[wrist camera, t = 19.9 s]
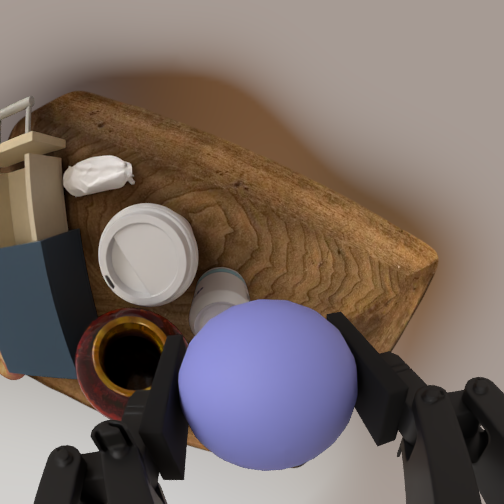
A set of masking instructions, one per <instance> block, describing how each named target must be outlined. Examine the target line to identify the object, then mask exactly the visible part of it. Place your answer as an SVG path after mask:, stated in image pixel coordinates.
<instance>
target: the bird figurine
mask: <svg viewBox="0 0 504 504" xmlns="http://www.w3.org/2000/svg"><path fill="white" fill-rule="evenodd" d="M132 176H133V177H134V175H132V166H131V164H130V162H125V161H123V160H121V159H120V158H118V157H115V156H111V155H108V156H98V157H92V158H88V159H85V160H83V161H81V162H78V163H77V164H76V165H74V166H73V167H71V166H69V168H68V169H67V170H66V171H65V173H64V175H63V186H64V187H65V188H66V190H67V191H68V192H69V193H70V194H71V195H73V196H75V197H77V196H78V197H80V196H84V195H90V194H94V193H97V192H102V191H107V190H112V189H118V188H121V187H123V186H124V184H125V183H126V182H127V181H128V182H129V183H130V184H131V185H132V183H133V184H135V180H133V179H132Z"/></svg>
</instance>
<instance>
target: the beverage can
mask: <svg viewBox="0 0 504 504" xmlns="http://www.w3.org/2000/svg"><path fill="white" fill-rule="evenodd" d="M247 302H250V297H249V293H248V289H247V286H246V283H245V281H244V279H243V278H242V276H241V275H240V274H239V273H237V272H236V271H234V270H232V269H230V268H225V267H217V268H213V269H210V270H208V271H207V272H205V273H204V274H203V275H202V276H201V277H200V279H199V280H198V282H197V285H196V289H195V293H194V297H193V301H192V305H191V309H190V314H189V324H190V328H191V331H192V333H193V334H194V336H196V335H197V333H198V332H199V331H200V330H201V329H202V328H203V327H204V325H205V324H206V323H207V322H208V321H209V320H210V319H212V318H213V317H215V316H217V315H218V314H220V313H222V312H223V311H225V310H227V309H228V308H230V307H232V306H235V305H239V304H243V303H247Z"/></svg>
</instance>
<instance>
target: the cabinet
mask: <svg viewBox="0 0 504 504" xmlns="http://www.w3.org/2000/svg"><path fill="white" fill-rule="evenodd" d="M97 318H98V317H97V313H96V309H95V305H94V301H93V297H92V292H91V288H90V284H89V279H88V274H87V269H86V264H85V259H84V253H83V248H82V242H81V236H80V229H73V230H68V231H67V232H64V233H61V234H58V235H55V236H52V237H49V238H46V239H43V240H40V241H35V242H29V243H24V244H18V245H13V246H8V247H2V248H0V352H1V355H2V357H3V360H4V362H5V364H6V367H7V369H8V371H9V373H16V374H24V375H32V376H42V377H53V378H67V379H77V375H76V367H75V358H76V351H77V347H78V344H79V341H80V339H81V337H82V335H83V333H84V332H85V330H86V329H87V328H88V326H89V325H90V324H91V323H92V322H93V321H95V320H96V319H97Z"/></svg>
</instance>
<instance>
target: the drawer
mask: <svg viewBox="0 0 504 504" xmlns="http://www.w3.org/2000/svg"><path fill="white" fill-rule="evenodd" d="M34 102H35V101H34V98H33V97H32V96H30V97H27V98H25V99H23V100H21V101H18V102H16V103H14V104H12V105H10V106H8V107H6V108H4V109H1V110H0V142H1V120H2V119H4V118H7V117H9V116H11V115H13V114H15V113H17V112H20V111H22V110H25V109H26V125H25V134H23V135H20V136H18V137H15V138H13V139H10V140H8V141H6V142H3V143H0V167H8V166H11V165H13V164H16V163H19V162H22V161H25V168H22V169H19V170H16V171H13V172H11V173H0V248H2V247H8V246H13V245H18V244H24V243H29V242H35V241H40V240H43V239H46V238H49V237H52V236H55V235H58V234H61V233H64V232H67V231H68V225H67V217H66V209H65V200H64V190H63V178H62V163H61V158H58V157H52V156H46V155H43V154H47V153H50V152H53V151H57V150H60V149H64V148H66V140H64V139H60V138H57V137H53V136H49V135H46V134H42V133H38V132H34V131H31V107H32V106H33V105H34Z"/></svg>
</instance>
